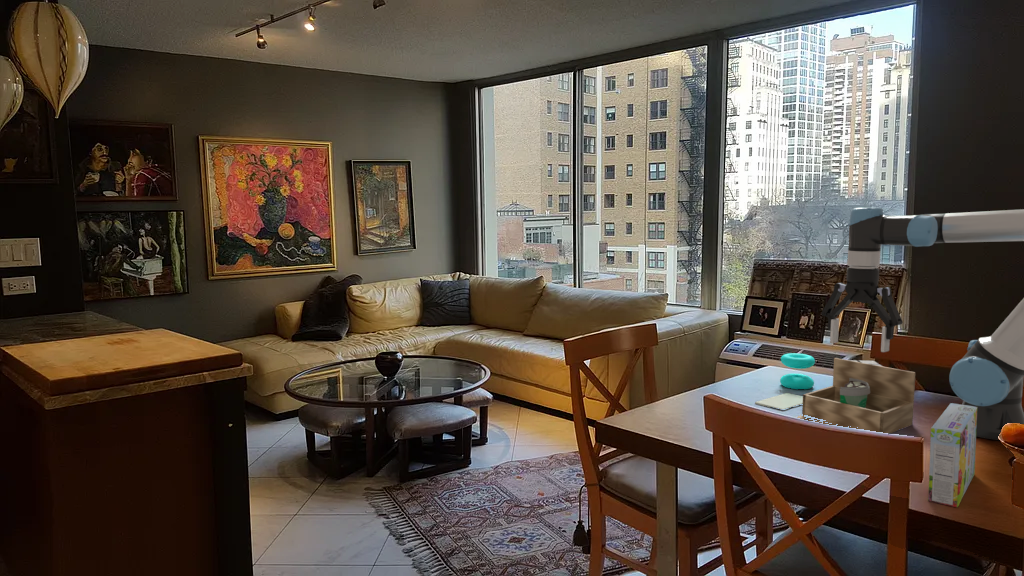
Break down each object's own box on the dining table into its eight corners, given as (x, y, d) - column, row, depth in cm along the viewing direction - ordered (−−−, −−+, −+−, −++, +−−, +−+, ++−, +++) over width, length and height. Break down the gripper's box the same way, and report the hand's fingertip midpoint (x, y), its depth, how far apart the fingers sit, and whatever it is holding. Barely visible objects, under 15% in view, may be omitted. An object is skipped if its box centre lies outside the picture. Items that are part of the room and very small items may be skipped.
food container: (864, 428, 175) (866, 390, 174) (838, 424, 179) (840, 387, 177) (872, 416, 185) (874, 380, 183) (848, 412, 188) (849, 377, 187)
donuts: (815, 360, 208) (780, 357, 212) (814, 391, 209) (779, 389, 213) (814, 353, 217) (781, 351, 221) (813, 384, 219) (780, 381, 222)
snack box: (944, 468, 148) (949, 401, 146) (975, 475, 145) (980, 406, 143) (925, 501, 132) (929, 426, 131) (959, 509, 129) (964, 432, 127)
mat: (814, 401, 200) (814, 399, 200) (782, 411, 190) (782, 409, 190) (787, 394, 207) (787, 392, 207) (755, 403, 198) (755, 402, 198)
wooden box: (912, 424, 177) (915, 372, 176) (869, 442, 165) (872, 386, 163) (833, 405, 195) (835, 357, 193) (789, 419, 183) (791, 369, 181)
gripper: (920, 269, 169) (915, 353, 171) (825, 263, 189) (821, 337, 192) (906, 271, 164) (900, 357, 167) (810, 264, 185) (806, 341, 187)
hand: (858, 347), depth 179 cm, fingers open, 13 cm apart
